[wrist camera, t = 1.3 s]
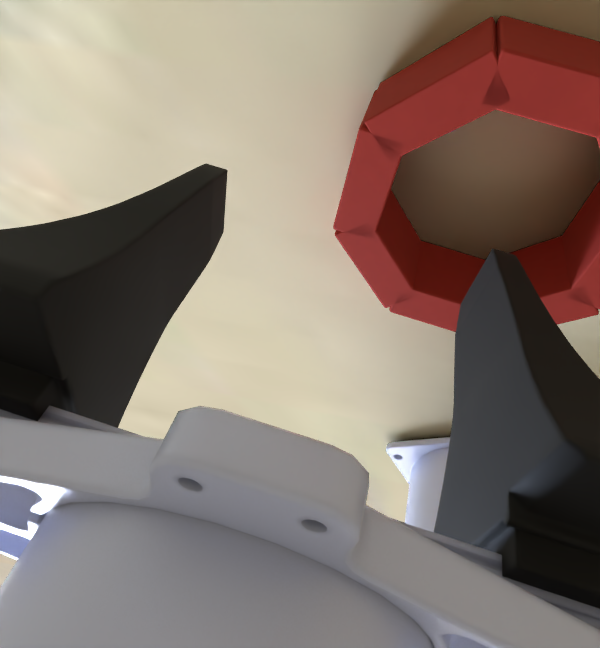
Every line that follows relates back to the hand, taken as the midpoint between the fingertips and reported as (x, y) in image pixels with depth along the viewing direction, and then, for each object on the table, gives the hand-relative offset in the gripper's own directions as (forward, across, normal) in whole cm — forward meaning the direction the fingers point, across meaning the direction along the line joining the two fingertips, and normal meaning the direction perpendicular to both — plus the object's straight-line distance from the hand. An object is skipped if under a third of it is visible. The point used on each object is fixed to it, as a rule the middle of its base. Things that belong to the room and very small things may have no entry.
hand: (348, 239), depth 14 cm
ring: (+6, -4, 0) cm, 7 cm away
